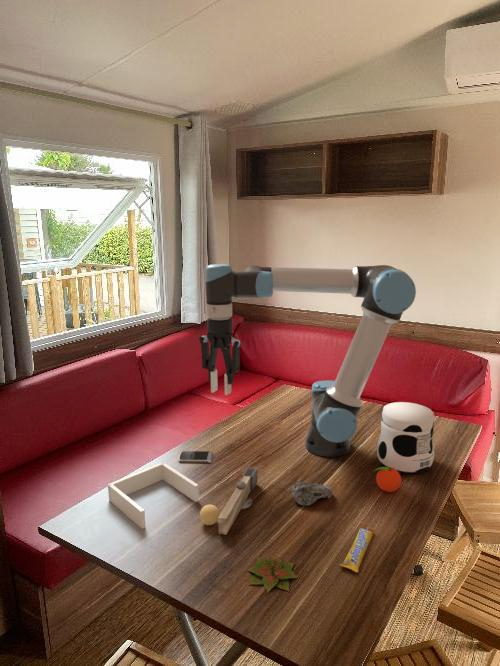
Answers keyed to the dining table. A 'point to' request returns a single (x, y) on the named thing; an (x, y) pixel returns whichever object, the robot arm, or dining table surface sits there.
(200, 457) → the cell phone
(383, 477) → the clementine
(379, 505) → the dining table surface
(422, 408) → the milk container
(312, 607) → the dining table surface
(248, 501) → the pivot disc
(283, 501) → the dining table surface
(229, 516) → the lever
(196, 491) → the frame
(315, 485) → the fossilized seashell
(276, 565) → the lily flower
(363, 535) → the candy bar
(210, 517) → the ball
